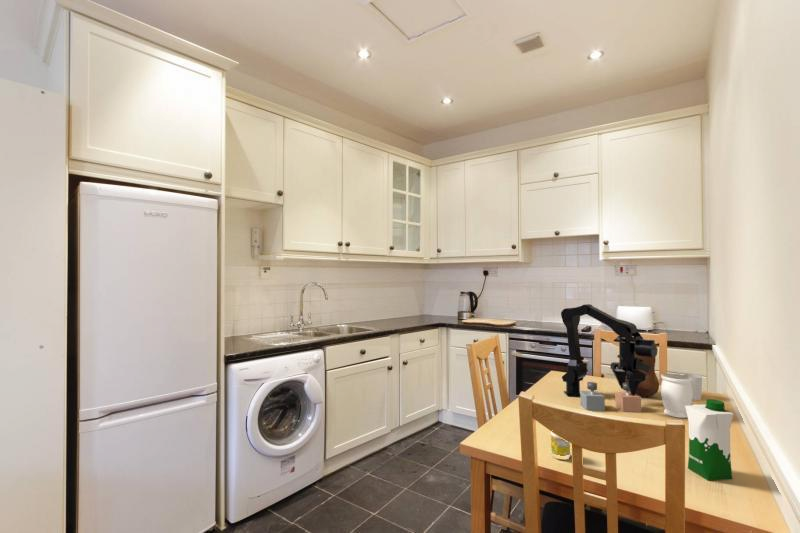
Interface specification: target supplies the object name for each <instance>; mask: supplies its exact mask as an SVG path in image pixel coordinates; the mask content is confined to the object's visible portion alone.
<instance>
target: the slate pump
mask: <svg viewBox="0 0 800 533" xmlns="http://www.w3.org/2000/svg"><path fill="white" fill-rule="evenodd" d="M587 390H588V391H591V394H594V391H598V383H597V382H594V381H587Z"/></svg>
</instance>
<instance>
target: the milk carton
mask: <svg viewBox="0 0 800 533" xmlns="http://www.w3.org/2000/svg"><path fill="white" fill-rule="evenodd" d="M685 407H686V412H687V416H688V418H687V420H688V461H687V469H689V470H690V471H692V472H694V473H695V474H696V475H698V476H699V477H701V478H703V479H705V480H707V481H709V482H711V481H727V480H733V470H732V460H731V427H732V422H733V418H734V413H733V412H731V411H729V410H726V409H725V402H724V401H722V400H718V399H711V398H708V399H706V401H705V404H693V405H692V404H691V405H688V406H685Z"/></svg>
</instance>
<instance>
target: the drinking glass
mask: <svg viewBox="0 0 800 533" xmlns="http://www.w3.org/2000/svg"><path fill="white" fill-rule="evenodd" d="M683 375H685V376H688V377H691V378H692V382H691V385H692V391H693V398H692V401H701V400H702V386H703V385H702V384H703V376H702V375H699V374H694V373H684V374H683Z"/></svg>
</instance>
